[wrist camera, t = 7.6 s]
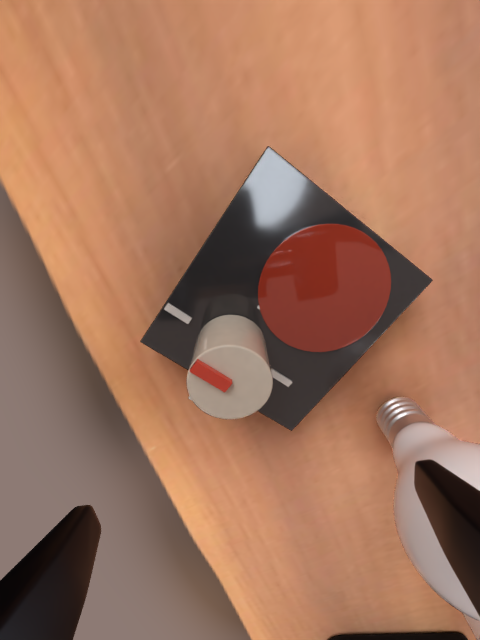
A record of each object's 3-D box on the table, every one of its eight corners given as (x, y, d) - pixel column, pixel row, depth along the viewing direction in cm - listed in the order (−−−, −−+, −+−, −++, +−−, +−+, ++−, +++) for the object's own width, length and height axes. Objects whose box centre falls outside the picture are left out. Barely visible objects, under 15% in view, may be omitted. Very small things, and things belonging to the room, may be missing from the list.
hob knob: (279, 339, 17) (292, 379, 13) (239, 388, 18) (240, 438, 14) (222, 300, 16) (217, 331, 12) (183, 354, 17) (168, 397, 13)
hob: (412, 271, 17) (435, 281, 15) (273, 424, 21) (277, 449, 19) (264, 151, 15) (268, 144, 13) (137, 345, 19) (125, 363, 17)
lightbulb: (429, 348, 19) (653, 525, 9) (453, 426, 21) (657, 643, 11) (328, 389, 20) (425, 592, 10) (361, 459, 22) (469, 688, 12)
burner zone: (417, 275, 15) (419, 276, 15) (329, 371, 17) (330, 373, 17) (315, 193, 14) (316, 193, 14) (231, 306, 16) (231, 308, 16)
